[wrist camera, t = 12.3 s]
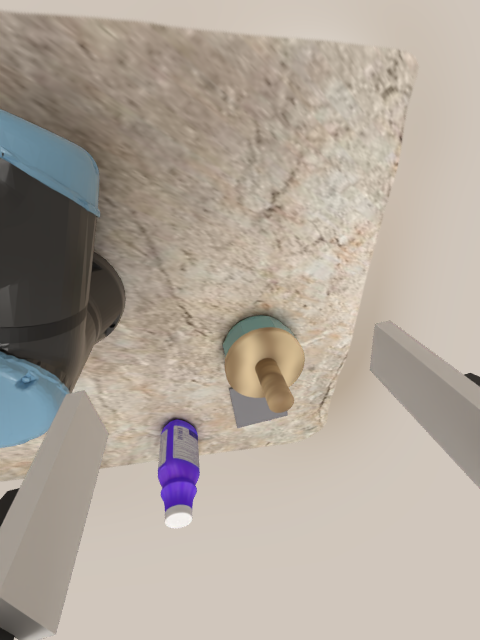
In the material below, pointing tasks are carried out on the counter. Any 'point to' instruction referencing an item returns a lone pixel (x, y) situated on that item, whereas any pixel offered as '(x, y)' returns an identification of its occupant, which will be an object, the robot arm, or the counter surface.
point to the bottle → (178, 471)
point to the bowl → (251, 328)
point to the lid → (265, 366)
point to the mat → (251, 409)
